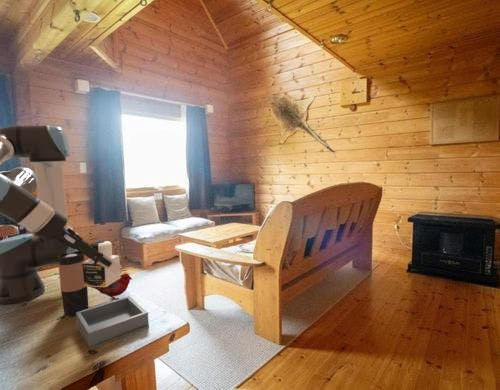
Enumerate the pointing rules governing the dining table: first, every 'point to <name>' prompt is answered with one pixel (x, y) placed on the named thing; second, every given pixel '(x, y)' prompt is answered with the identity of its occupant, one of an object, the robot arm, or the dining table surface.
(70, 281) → the travel mug
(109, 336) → the open-top bin
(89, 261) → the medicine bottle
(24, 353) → the dining table surface
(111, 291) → the decorative bird figurine
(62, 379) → the dining table surface
